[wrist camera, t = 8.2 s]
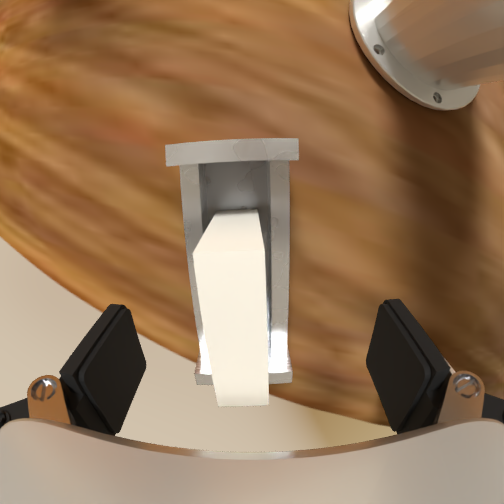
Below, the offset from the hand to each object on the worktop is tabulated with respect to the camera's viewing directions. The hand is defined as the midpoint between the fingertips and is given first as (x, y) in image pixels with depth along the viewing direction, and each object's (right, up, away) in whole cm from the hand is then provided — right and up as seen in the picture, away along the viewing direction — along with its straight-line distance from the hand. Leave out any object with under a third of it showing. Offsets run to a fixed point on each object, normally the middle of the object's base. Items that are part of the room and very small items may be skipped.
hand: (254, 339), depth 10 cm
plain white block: (-1, +2, +9) cm, 9 cm away
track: (-1, +3, +9) cm, 10 cm away
